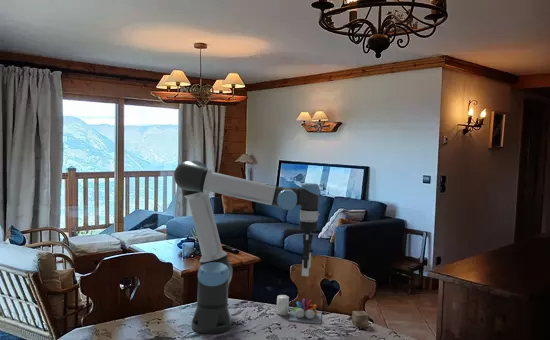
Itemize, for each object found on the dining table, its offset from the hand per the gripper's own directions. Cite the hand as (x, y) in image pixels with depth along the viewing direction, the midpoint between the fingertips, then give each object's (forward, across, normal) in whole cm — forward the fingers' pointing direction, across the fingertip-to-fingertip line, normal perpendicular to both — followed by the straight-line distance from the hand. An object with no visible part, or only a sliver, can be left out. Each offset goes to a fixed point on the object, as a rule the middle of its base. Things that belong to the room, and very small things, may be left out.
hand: (306, 271), depth 181 cm
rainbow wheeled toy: (+19, 0, -1) cm, 19 cm away
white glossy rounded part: (+19, +3, +9) cm, 21 cm away
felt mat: (+19, 0, -1) cm, 19 cm away
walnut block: (+19, -3, -23) cm, 30 cm away
